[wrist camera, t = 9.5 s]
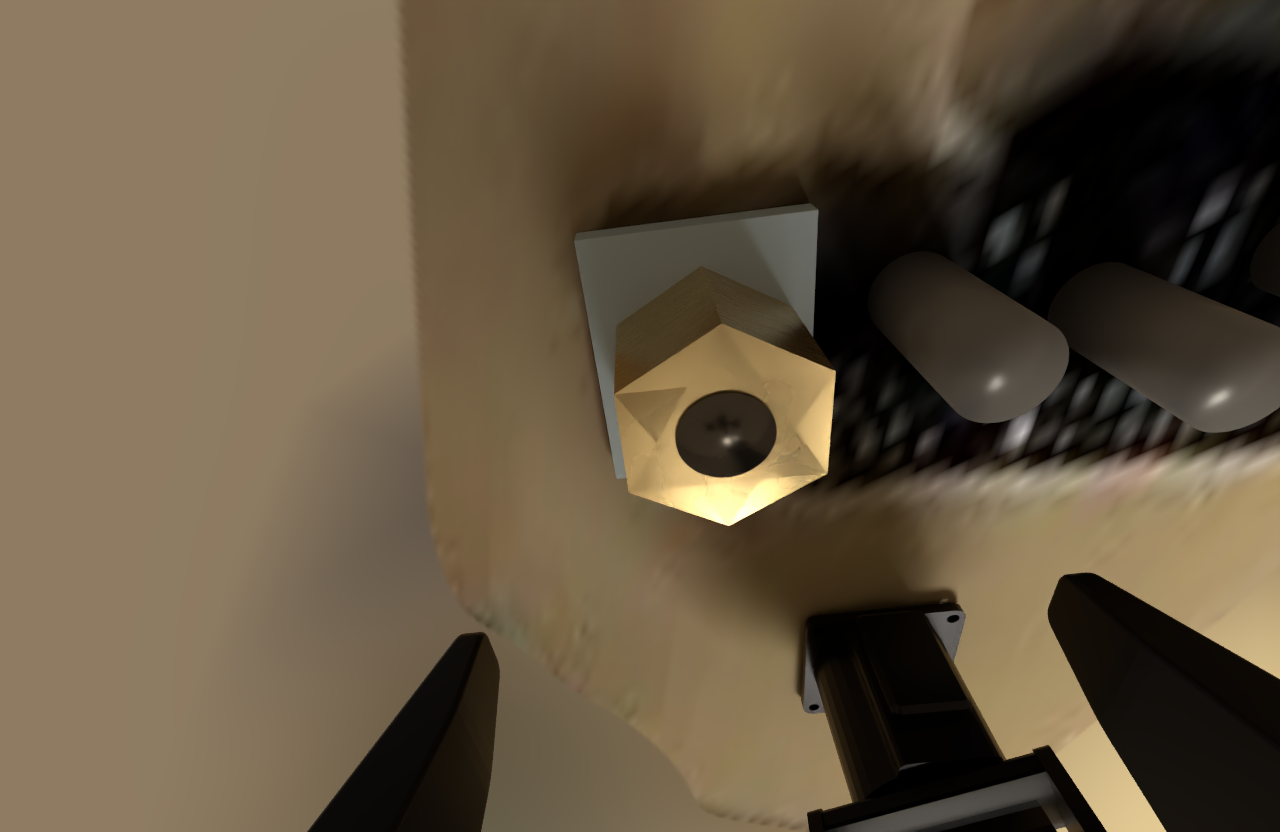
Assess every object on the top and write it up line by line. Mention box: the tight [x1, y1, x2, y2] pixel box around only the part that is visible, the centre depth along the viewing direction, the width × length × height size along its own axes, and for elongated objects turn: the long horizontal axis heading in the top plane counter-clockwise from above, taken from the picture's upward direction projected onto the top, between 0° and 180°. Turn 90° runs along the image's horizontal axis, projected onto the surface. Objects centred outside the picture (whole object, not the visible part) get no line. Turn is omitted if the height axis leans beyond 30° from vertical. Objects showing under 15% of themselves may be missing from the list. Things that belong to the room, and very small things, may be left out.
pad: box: [574, 203, 818, 479], centre depth 18 cm, size 8×6×1 cm
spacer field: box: [867, 222, 1280, 433], centre depth 12 cm, size 15×14×5 cm
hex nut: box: [614, 266, 836, 526], centre depth 15 cm, size 6×5×4 cm
